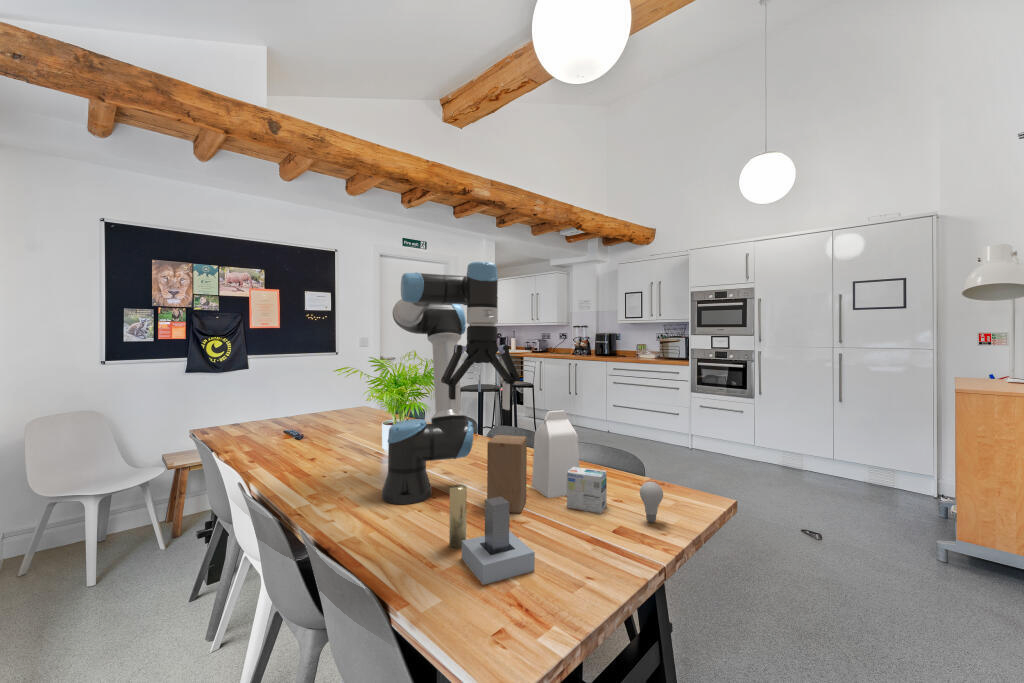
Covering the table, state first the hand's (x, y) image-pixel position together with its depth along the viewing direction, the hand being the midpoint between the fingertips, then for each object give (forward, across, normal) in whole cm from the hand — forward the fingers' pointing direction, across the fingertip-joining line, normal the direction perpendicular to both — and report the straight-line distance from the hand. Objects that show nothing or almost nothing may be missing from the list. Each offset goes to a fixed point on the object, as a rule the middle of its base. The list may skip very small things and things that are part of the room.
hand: (481, 411), depth 108 cm
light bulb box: (+32, +36, +5) cm, 49 cm away
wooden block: (+32, +16, +16) cm, 39 cm away
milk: (+32, +36, +21) cm, 53 cm away
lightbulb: (+32, +45, -12) cm, 57 cm away
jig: (+32, -2, -13) cm, 34 cm away
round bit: (+32, -6, -1) cm, 32 cm away
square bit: (+32, -2, -13) cm, 34 cm away
